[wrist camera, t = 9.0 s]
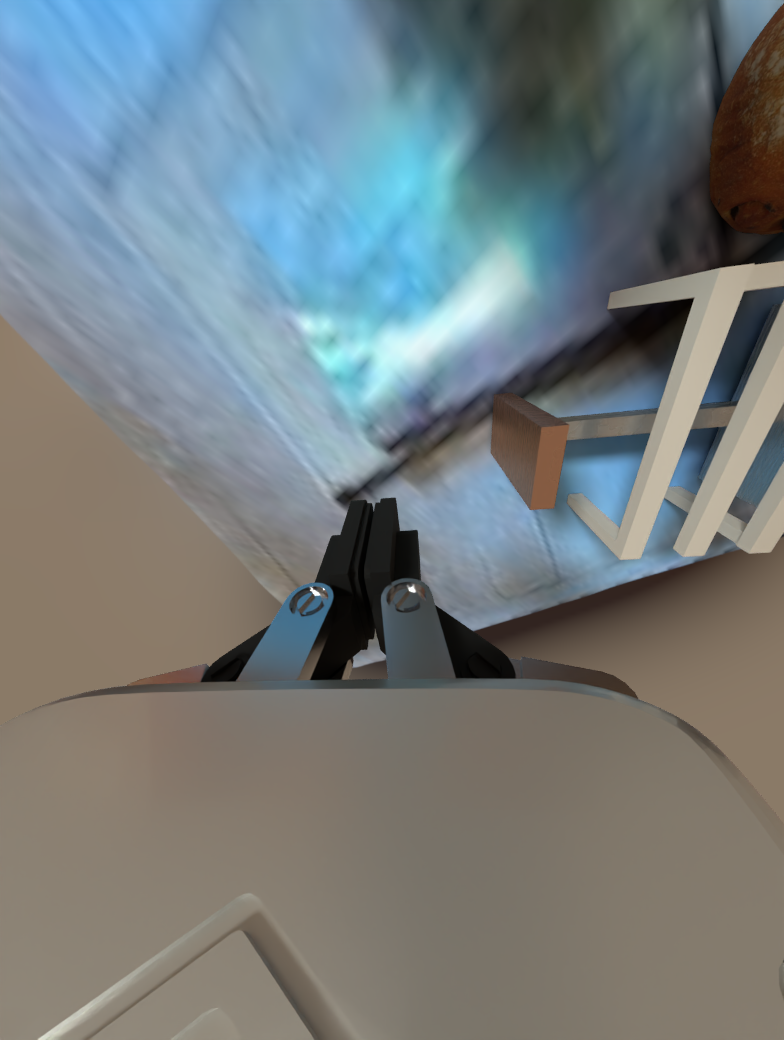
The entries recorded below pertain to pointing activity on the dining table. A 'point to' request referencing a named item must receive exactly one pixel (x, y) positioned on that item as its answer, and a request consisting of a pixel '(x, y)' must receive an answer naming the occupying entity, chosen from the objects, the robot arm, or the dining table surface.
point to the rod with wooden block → (542, 437)
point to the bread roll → (752, 138)
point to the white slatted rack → (770, 385)
